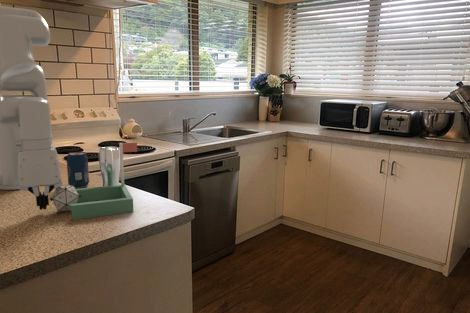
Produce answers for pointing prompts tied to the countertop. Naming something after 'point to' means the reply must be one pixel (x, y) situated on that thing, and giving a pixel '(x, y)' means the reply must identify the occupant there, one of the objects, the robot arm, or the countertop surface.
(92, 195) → the green open box
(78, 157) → the soda can
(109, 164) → the beer glass
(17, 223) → the countertop surface
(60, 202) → the game die
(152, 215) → the countertop surface
